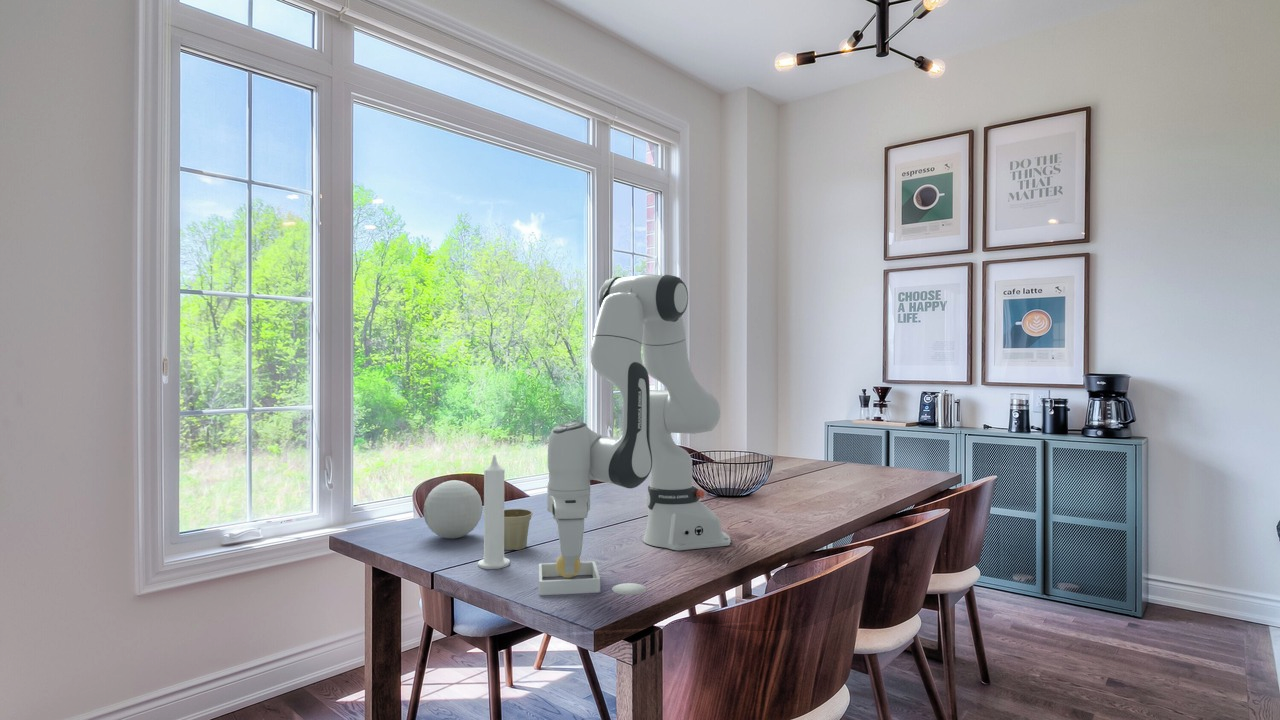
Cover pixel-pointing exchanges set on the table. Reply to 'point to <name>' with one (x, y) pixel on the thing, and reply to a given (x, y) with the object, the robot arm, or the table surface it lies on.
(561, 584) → the shallow white box
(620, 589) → the coaster
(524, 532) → the flower pot
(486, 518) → the candle
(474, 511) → the decorative object
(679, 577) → the table surface
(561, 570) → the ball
